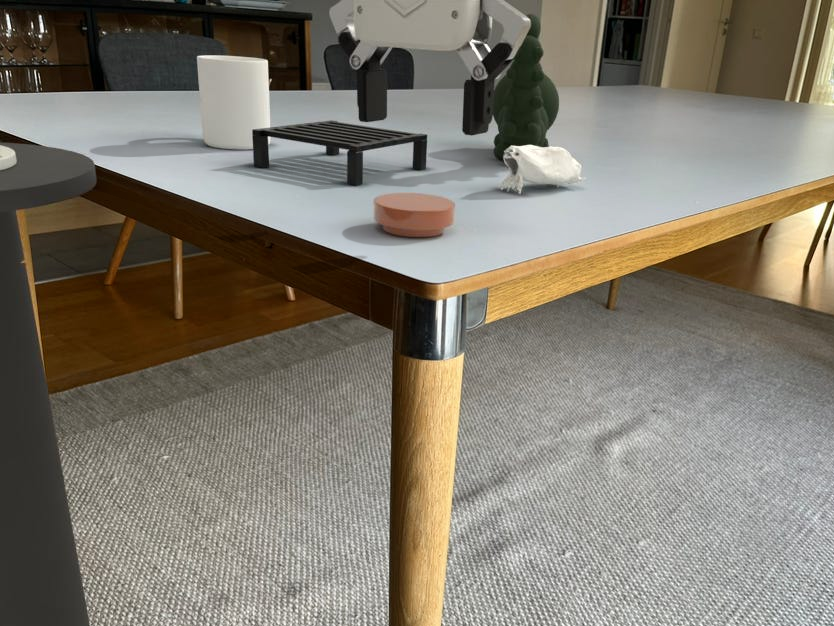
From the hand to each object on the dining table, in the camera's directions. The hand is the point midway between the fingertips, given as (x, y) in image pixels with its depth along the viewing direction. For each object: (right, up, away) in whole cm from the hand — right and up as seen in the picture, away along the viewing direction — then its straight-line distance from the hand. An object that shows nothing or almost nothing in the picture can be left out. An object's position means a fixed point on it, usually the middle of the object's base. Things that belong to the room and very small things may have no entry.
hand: (422, 126), depth 62 cm
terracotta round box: (-1, -8, +3) cm, 9 cm away
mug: (-28, +9, +37) cm, 47 cm away
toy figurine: (+10, +9, +43) cm, 45 cm away
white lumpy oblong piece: (+11, 0, +24) cm, 26 cm away
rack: (-11, +3, +27) cm, 29 cm away
